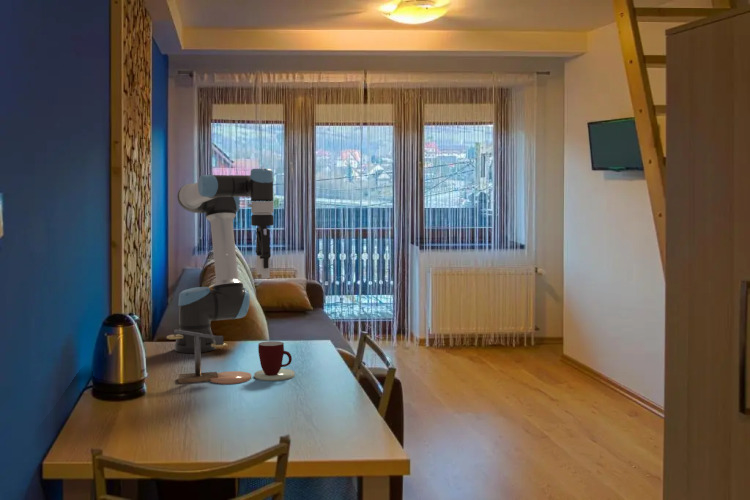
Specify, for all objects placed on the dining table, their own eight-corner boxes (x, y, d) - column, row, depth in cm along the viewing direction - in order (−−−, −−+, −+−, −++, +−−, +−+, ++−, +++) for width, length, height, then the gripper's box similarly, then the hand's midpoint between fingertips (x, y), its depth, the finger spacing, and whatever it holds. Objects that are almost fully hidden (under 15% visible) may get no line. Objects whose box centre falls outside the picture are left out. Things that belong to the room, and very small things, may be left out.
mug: (291, 370, 246) (291, 340, 246) (291, 376, 238) (291, 345, 238) (259, 371, 245) (258, 341, 245) (258, 377, 237) (257, 346, 237)
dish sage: (252, 372, 248) (252, 370, 248) (291, 370, 252) (291, 367, 252) (256, 382, 236) (256, 379, 236) (297, 379, 239) (297, 376, 239)
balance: (167, 379, 240) (166, 328, 238) (227, 375, 245) (226, 325, 243) (167, 384, 234) (166, 331, 233) (228, 379, 239) (227, 328, 238)
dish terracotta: (208, 375, 244) (208, 372, 244) (249, 373, 248) (249, 370, 248) (210, 385, 232) (210, 382, 232) (253, 382, 235) (253, 379, 235)
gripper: (247, 213, 268) (248, 272, 270) (255, 214, 244) (256, 280, 246) (268, 213, 270) (269, 272, 272) (278, 214, 246) (279, 279, 248)
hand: (263, 276), depth 259 cm, fingers open, 13 cm apart
